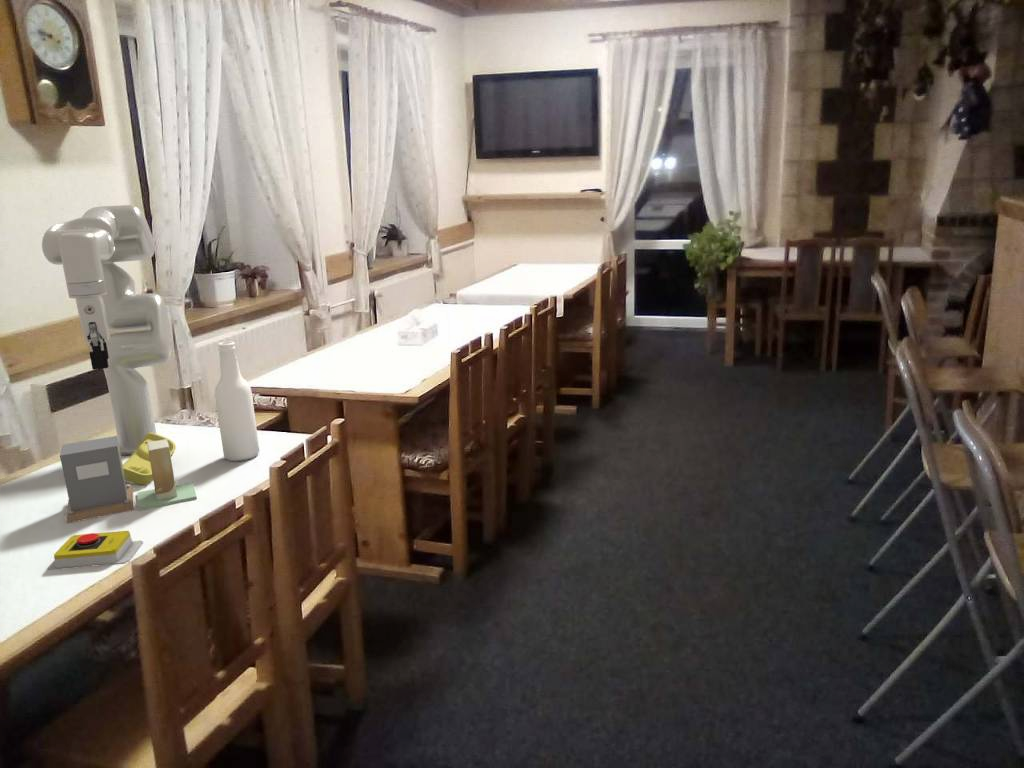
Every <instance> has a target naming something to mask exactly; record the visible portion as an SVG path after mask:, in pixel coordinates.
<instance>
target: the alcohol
mask: <svg viewBox="0 0 1024 768" xmlns="http://www.w3.org/2000/svg"><path fill="white" fill-rule="evenodd" d="M235 344H236V343H235V342H234V341H231V340H230V341H221V342H219V343H218V344H217V346H218V348H217V349H218V351H219V362H220V363H219V365H220V377H219V378H220V380H219V381H218V383H217V384H216V386H215V390H214V398H215V406H216V410H217V419H218V426H219V432H220V433H219V434H220V439H221V445H222V452H223V457H224V458H225V459H226V460H227V461H229V460H230V461H229V462H243V460H245V461H249V460H252V459H254V458H256V457H257V456H258V455H259V453H260V444H259V437H258V431H257V429H258V428H257V422H256V421H257V420H256V417H255V409H254V401H253V399H254V398H253V394H252V388H251V386H250V383H249V382H248V381H247V380H246V378H245V379H244V378H243V376H242V374H241V370H240V366H239V362H238V358H237V354H236V346H235ZM255 456H256V457H255ZM253 457H254V458H253ZM251 458H252V459H251ZM248 459H249V460H248Z"/></svg>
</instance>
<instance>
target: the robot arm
mask: <svg viewBox="0 0 1024 768" xmlns="http://www.w3.org/2000/svg"><path fill="white" fill-rule="evenodd" d="M148 223H149V222H148V221H147V219H146V216H145V215H144V213H143V212H142V210H141V209H140V208H139V207H137V206H135V205H133V204H132V205H131V204H126V205H125V204H123V205H102V206H95V207H91V208H89V209H88V210H86V212H84V214H83V215H82V217H78V218H75V219H72V220H69V221H65V222H61V223H58V224H54V225H52V226H50V227H49V228H48V229H47V230H46V231H45V232H44V234H43V237H42V241H41V248H42V249H41V250H42V253H43V255H44V258H45V259H46V260H47V261H48V262H49V263H51V264H53V265H57V266H59V265H60V266H61V265H62V267H63V268H62V269H63V272H64V278H65V283H66V285H65V286H66V289H67V294H68V298H69V299H75V304H76V309H77V313H78V318H79V322H80V327H81V331H82V333H83V334H82V335H83V338H84V341H85V342H86V343H88V346H89V352H88V353H89V358H90V363H91V368H92V370H93V371H94V370H101V369H102V370H103V373H104V375H105V379H106V383H107V387H108V393H109V399H110V404H111V410H112V415H113V420H114V421H113V422H114V426H115V430H116V436H117V437H118V443H119V448H120V453H121V456H122V455H123V456H124V455H125V456H129V455H130V456H131V455H132V454H133V453H134V451H135V450H136V449H137V447H138V446H139V444H140V443H141V441H142V440H143V438H144V437H145V436H146V435H147V434H148V433H150V432H152V433H155V434H157V429H156V423H155V417H154V413H153V406H152V401H151V395H150V390H149V383H148V382H147V379H146V378H145V377H144V375H143V374H141V373H140V372H139V371H138V370H137V369H139V368H145V367H154V366H163V365H165V364H167V363H169V361H170V360H171V357H172V344H171V343H172V342H171V334H170V326H169V325H170V323H169V315H168V308H167V305H166V302H165V300H164V298H163V297H162V296H161V295H160V294H157V293H150V292H149V293H138V294H136V283H135V280H134V278H133V277H132V276H131V275H130V274H129V273H128V272H127V271H126V270H124V269H123V268H121V266H118V265H117V264H116V263H119V262H120V263H122V262H135V261H137V262H138V261H146V260H150V259H151V258H152V257H153V256H154V255H155V250H156V248H155V247H156V246H155V245H156V244H155V242H154V241H155V240H154V236H153V234H152V232H151V228H150V226H149V224H148ZM110 331H111V332H115V333H111V332H110Z"/></svg>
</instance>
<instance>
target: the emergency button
mask: <svg viewBox="0 0 1024 768" xmlns="http://www.w3.org/2000/svg"><path fill="white" fill-rule="evenodd" d="M143 544H144V541H143V540H134V541H133V539H132V536H131V532H130V531H129V530H120V531H119V530H117V531H108V532H107V531H106V532H91V533H84V534H83V533H82V534H74V535H72V536H70V537H69V538H68V539H67V540H66V541H65V542H64V543H63V544H62V545H61V546H60V547H59V549H58V550H57V551H55V552H54V554H53V556H54V557H53V558H54V560H53V561H52V562H51V563H50V564H49V565H48V567H47V569H48V570H50V571H53V570H54V569H56V570H64V569H63V568H67V569H75V568H74V567H78V568H85V567H84V566H89V567H93V566H92V565H100V566H110V564H111V565H120V564H119V563H122V564H127V563H129V562H130V560H131V561H132V559H134V557H135V555H136V554H137V552H138V551H139V549H140V548H141V547H142V546H143ZM126 562H127V563H126ZM107 564H109V565H107ZM54 571H55V570H54Z"/></svg>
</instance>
